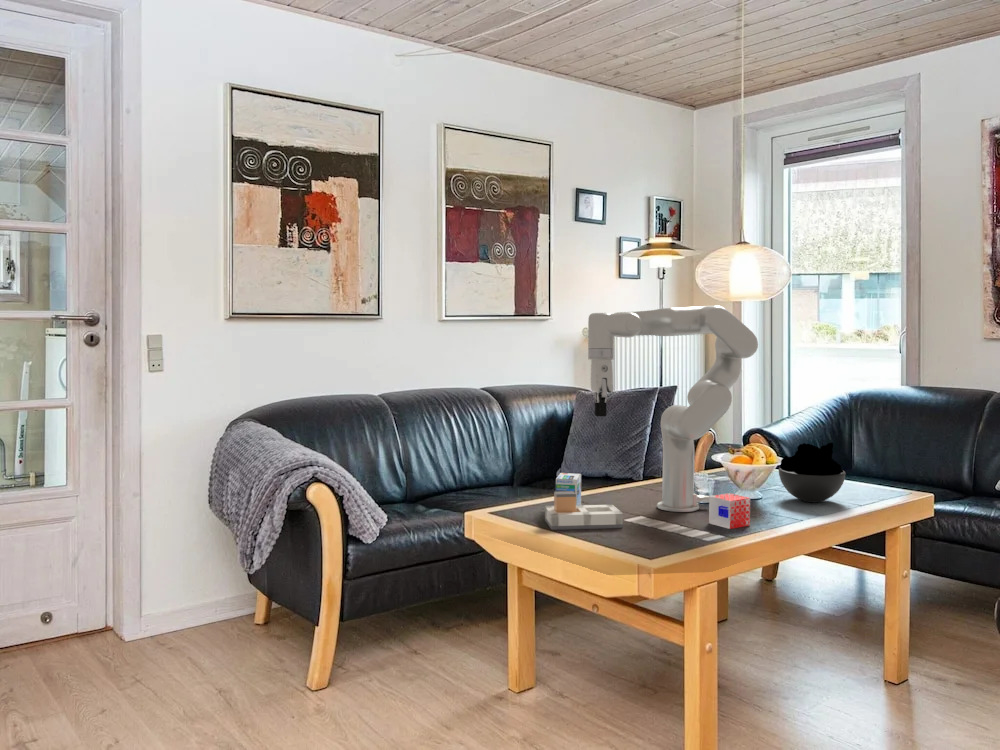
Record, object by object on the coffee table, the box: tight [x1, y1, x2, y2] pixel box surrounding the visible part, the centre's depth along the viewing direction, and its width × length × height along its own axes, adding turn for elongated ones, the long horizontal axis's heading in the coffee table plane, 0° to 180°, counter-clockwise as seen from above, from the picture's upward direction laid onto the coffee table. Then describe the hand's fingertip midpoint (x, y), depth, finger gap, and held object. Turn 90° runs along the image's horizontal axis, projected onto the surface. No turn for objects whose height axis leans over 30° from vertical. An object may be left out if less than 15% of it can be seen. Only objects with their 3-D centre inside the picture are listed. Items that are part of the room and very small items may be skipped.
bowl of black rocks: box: [778, 442, 846, 503], centre depth 276 cm, size 20×20×19 cm
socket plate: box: [544, 504, 624, 531], centre depth 247 cm, size 20×12×4 cm, turn 96°
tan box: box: [553, 491, 576, 513], centre depth 246 cm, size 6×4×8 cm
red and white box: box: [708, 492, 751, 530], centre depth 246 cm, size 8×8×8 cm
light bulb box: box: [555, 472, 582, 505], centre depth 264 cm, size 11×7×11 cm, turn 168°
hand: (600, 415), depth 260 cm, fingers closed
